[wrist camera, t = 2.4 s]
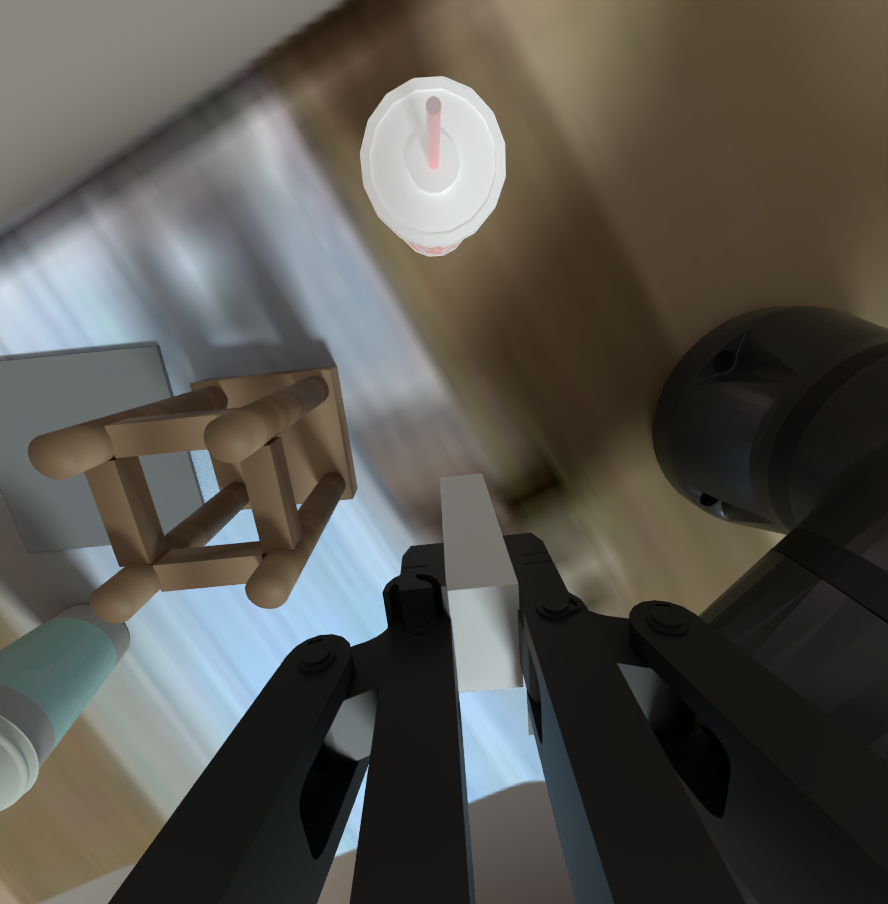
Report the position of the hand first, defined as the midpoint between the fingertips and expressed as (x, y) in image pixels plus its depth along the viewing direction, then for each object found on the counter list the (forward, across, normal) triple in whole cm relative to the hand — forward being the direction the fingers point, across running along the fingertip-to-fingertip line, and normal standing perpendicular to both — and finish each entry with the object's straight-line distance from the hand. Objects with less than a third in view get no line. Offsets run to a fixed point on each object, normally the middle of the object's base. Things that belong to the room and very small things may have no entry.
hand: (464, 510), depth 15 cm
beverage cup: (+16, 0, -13) cm, 20 cm away
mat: (+16, +26, 0) cm, 30 cm away
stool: (+16, +12, 0) cm, 19 cm away
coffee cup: (+16, +31, +15) cm, 38 cm away
